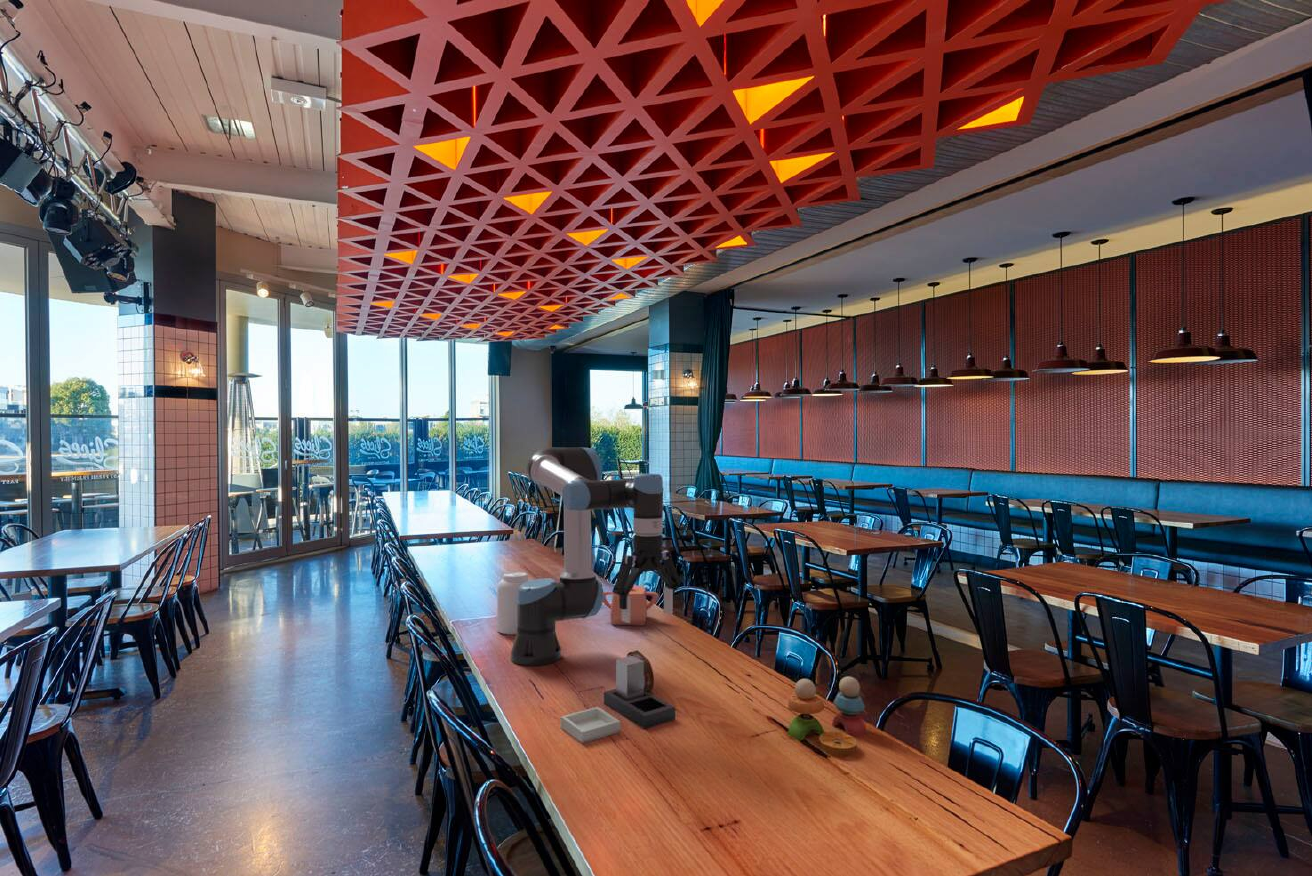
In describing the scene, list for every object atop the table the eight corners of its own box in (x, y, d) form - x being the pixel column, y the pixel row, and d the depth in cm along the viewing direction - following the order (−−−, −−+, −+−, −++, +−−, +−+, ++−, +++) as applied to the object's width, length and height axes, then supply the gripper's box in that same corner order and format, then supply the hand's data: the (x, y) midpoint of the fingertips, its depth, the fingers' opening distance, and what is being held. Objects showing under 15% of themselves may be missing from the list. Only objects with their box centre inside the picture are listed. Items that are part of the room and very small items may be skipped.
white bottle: (540, 628, 232) (541, 572, 232) (515, 637, 222) (515, 578, 222) (514, 623, 239) (515, 568, 239) (489, 631, 228) (489, 574, 229)
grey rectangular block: (615, 703, 166) (616, 659, 166) (632, 698, 169) (632, 656, 169) (626, 709, 162) (627, 665, 162) (643, 705, 165) (643, 661, 165)
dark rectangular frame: (603, 703, 167) (603, 691, 167) (633, 695, 172) (633, 684, 172) (644, 729, 152) (644, 716, 152) (675, 719, 157) (675, 707, 157)
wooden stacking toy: (832, 763, 137) (832, 703, 137) (780, 730, 152) (781, 676, 153) (894, 745, 145) (894, 689, 145) (839, 716, 161) (840, 665, 161)
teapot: (658, 627, 236) (658, 588, 236) (597, 626, 236) (597, 587, 236) (658, 612, 256) (659, 577, 256) (602, 612, 256) (602, 576, 256)
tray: (560, 727, 153) (560, 716, 153) (597, 717, 158) (597, 706, 158) (582, 743, 144) (582, 732, 144) (620, 732, 150) (620, 721, 150)
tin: (655, 695, 173) (655, 663, 173) (643, 696, 172) (644, 664, 172) (635, 675, 187) (635, 646, 187) (624, 677, 186) (625, 647, 186)
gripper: (616, 540, 157) (615, 629, 156) (694, 531, 172) (693, 612, 172) (599, 536, 162) (598, 622, 162) (675, 529, 178) (675, 607, 178)
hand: (647, 617), depth 167 cm, fingers open, 13 cm apart
